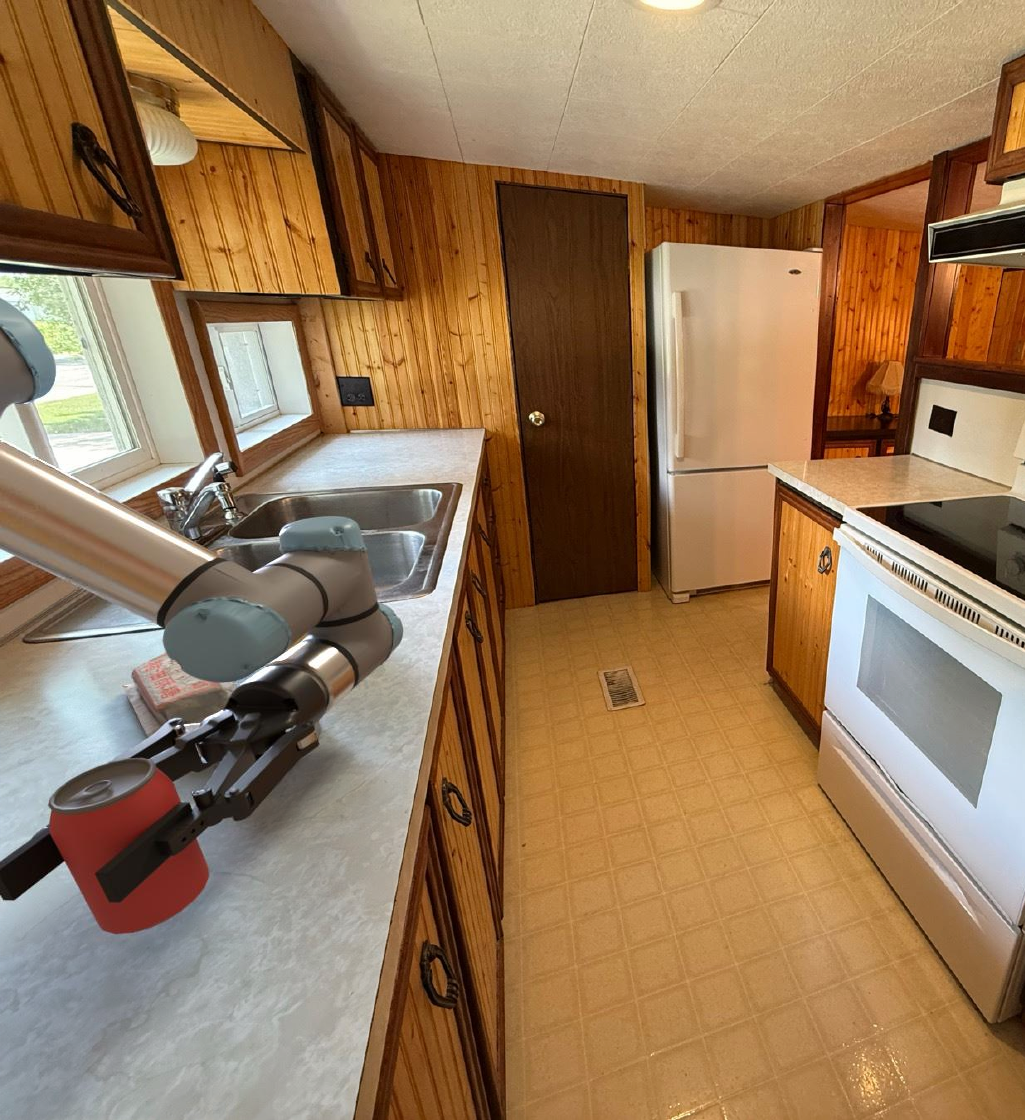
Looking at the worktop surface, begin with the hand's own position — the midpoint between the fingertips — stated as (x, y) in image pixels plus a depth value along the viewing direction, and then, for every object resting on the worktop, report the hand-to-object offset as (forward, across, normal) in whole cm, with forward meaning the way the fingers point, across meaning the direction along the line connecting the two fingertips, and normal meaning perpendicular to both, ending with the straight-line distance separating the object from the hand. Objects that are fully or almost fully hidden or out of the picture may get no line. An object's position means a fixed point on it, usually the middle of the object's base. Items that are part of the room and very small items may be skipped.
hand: (54, 886), depth 41 cm
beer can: (-5, 0, -8) cm, 9 cm away
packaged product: (-39, +29, -13) cm, 50 cm away
